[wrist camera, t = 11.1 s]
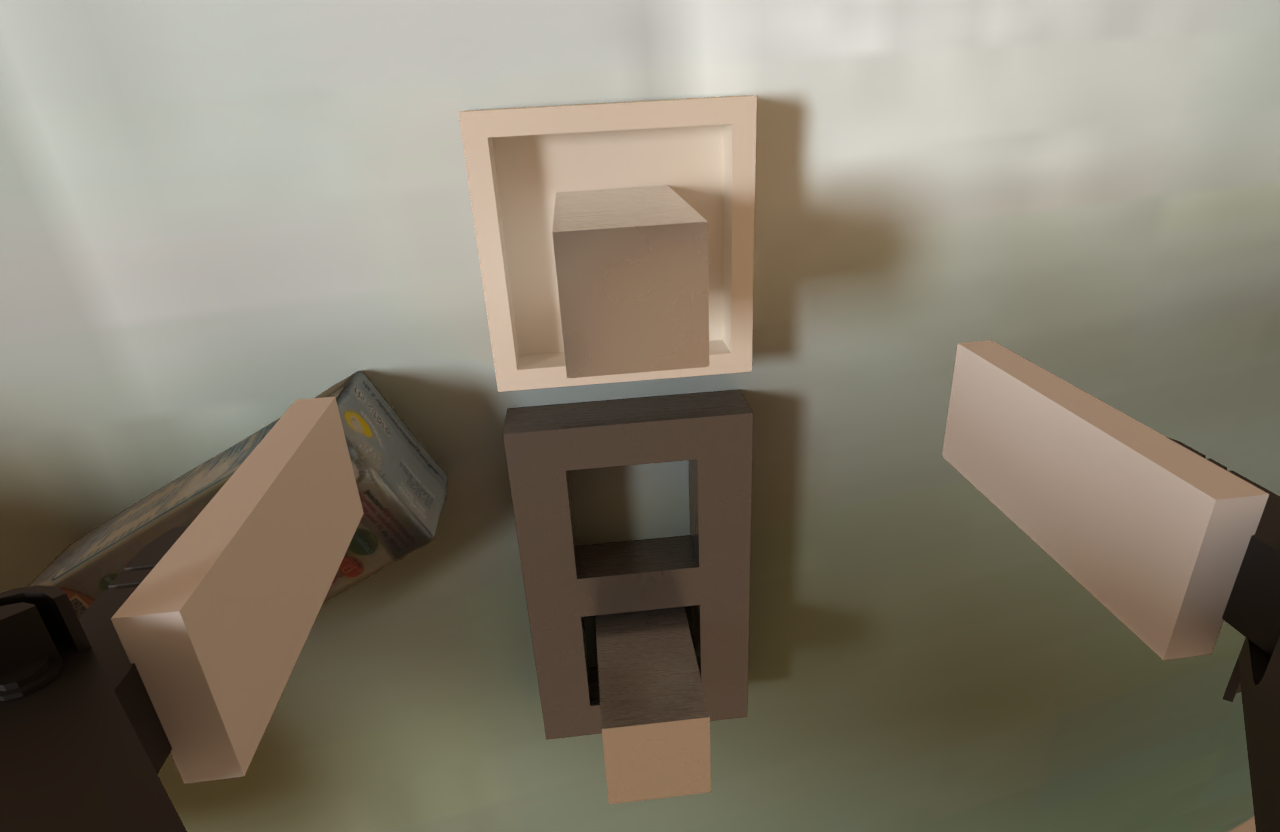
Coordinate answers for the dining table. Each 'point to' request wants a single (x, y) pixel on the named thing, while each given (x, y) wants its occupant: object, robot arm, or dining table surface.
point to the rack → (634, 570)
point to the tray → (593, 160)
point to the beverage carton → (376, 439)
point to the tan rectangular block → (631, 281)
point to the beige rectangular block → (651, 706)
